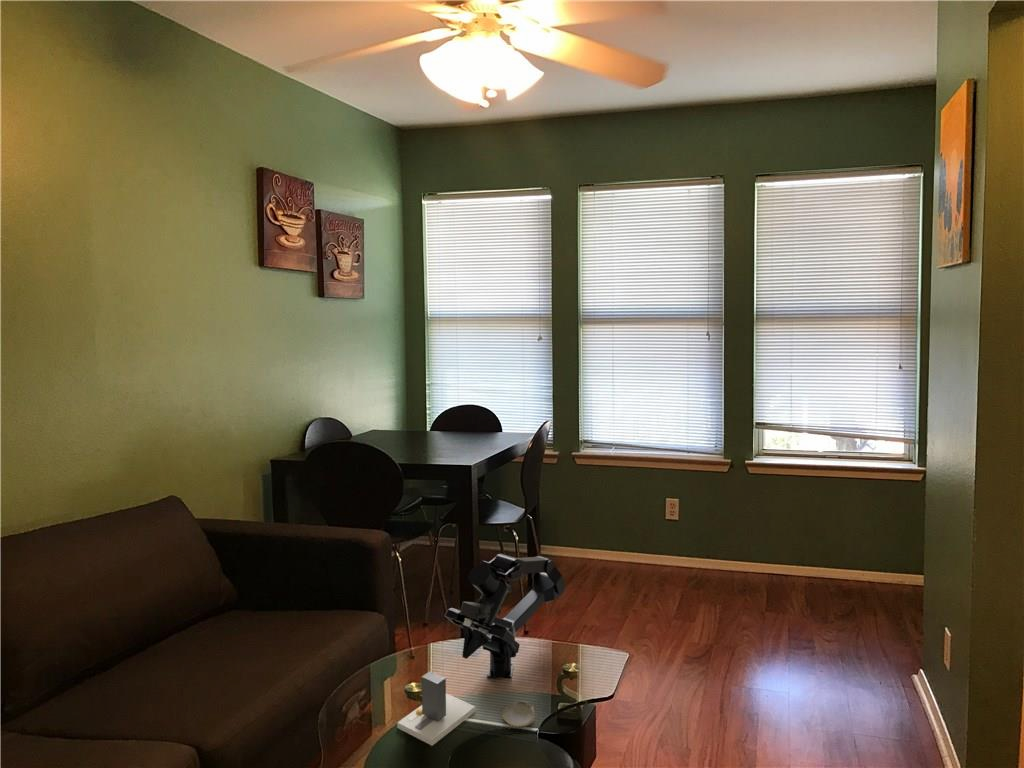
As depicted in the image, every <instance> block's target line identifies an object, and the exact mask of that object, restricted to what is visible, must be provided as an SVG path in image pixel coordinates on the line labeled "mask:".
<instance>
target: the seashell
mask: <svg viewBox="0 0 1024 768" xmlns="http://www.w3.org/2000/svg"><path fill="white" fill-rule="evenodd" d="M501 713H502V714H501V715H502V718H503V721H504V723H507V724H508V725H509V726H511V727H515V728H523V727H528V726H529V725H531V724H532V723H534V721H535V718H536V716H535V706H534V705H533V704H531V703H527V702H524V701H522V700H519V701H518V702H517V703H514V704H511V705H508V706H506V707H505V708H504V709H503V710H502V712H501Z"/></svg>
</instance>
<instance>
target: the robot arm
mask: <svg viewBox="0 0 1024 768" xmlns="http://www.w3.org/2000/svg"><path fill="white" fill-rule="evenodd" d="M529 574H532V575H531V578H532V579H531V580H532V588H531V590H530V591H529V592H528V593H527V594H526V595H525V596H524V597H523V598H522V599H521V600H520V601H519V602H518V603H517V604H516V606H514V607H513V608H512V609H511V610H510V611H509V612H508V613H507V614H506V615H505V616H504V617H503V618H501V617H499V616H498V615H501V613H502V610H501V606H502V605H503V603H504V600H505V597H506V595H507V594H508V593H511V594H512V591H513V589H512V586H511V581H516V580H519V579H522V576H523V575H529ZM468 580H469V583H470V584H471V585H472V586H473V587H474V588H475V589H477V591H479V592H480V593H481V595H480V597H476V598H475V600H474V602H472V601H462V604H461V608H460V610H459V609H456V608H453V607H450V608H448V609H447V610H446V612H445V614H444V617H445V618H446V619H447V620H449V621H450V622H451V623H453V624H454V625H456V626H458V627H461V628H462V630H463V633H464V636H463V638H464V639H463V640H464V641H463V649H462V658H464V659H466V660H467V659H469V657H471V656H472V655H473V654H474V653H476V651H478V650H479V649H480V648H481V647H482V650H484V651H487V652H489V665H488V670H487V674H486V677H487V678H495V679H496V678H497V679H507V680H508V679H512V677H513V672H514V665H515V664H513V663H512V658H516V657H517V654H518V653H519V651H520V643H519V642H518V641H517V640H516V634H517V632H518V631H519V630H520V629H521V628H522V627H523V626H524V625H525V624H526V622H528V620H530V618H531V617H532V616H533V615H534V614H535V613H536V612H537V611H538V610H539V609H540V608H541V606H543V605H544V604H546V603H549V602H553V601H555V600H557V599H558V598H559V597H560V596H561V595H562V594H563V593H564V592H565V589H566V583H565V580H564V577H563V575H562V573H561V572H560V571H559V569H558V568H556V566H555V564H554V561H553V560H552V559H550V558H548V557H544V556H541V555H536V556H529V557H528V556H527V557H514V556H510V555H506V554H503V553H498V554H496V555H495V557H494V558H492V559H491V560H490V561H487V560H486V561H485V560H482V562H481V563H480V564H478V565H476V566H474V567H473V568H472V569H470V571H469V573H468Z"/></svg>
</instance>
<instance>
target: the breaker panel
mask: <svg viewBox="0 0 1024 768" xmlns="http://www.w3.org/2000/svg"><path fill="white" fill-rule="evenodd" d="M475 713H476V706H475V705H473V704H471V703H468V702H466V701H464V700H461V698H457V697H456V696H453V695H450V694H449V693H446V716H444V717H443V718H442V719H441V720H439V721H436V720H434V719H432V718H430V717H428V716H426V715H424V714H422V704H421V705H420V706H419V707H417V708H416V709H414V710H413V711H411V712H410V713H408V714H407V715H406V716H404V717H403V718H401V719H399V721H398V722H397V729H399V730H400V731H403V732H404V733H407V734H408V735H411V736H412V737H413V738H414V737H415V738H416V739H418V740H420V741H422V742H424V743H426V744H428V745H430V746H431V747H432V746H434V745H435V744H436V743H438V742H439V741H441V740H442V739H443V738H445V737H446V736H447V735H448V734H449V733H450V732H452V731H453V730H454V729H455V728H457V727H458V726H459V725H461V724H462V723H463V722H465V721H466V720H467V719H468V718H469V717H471V716H472V715H473V714H475Z"/></svg>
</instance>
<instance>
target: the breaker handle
mask: <svg viewBox="0 0 1024 768" xmlns="http://www.w3.org/2000/svg"><path fill="white" fill-rule="evenodd" d="M446 680H447V678H446V677H444V676H442V675H440V674H438V673H435V672H433V671H430V670H429V671H428V672H426V673H425V674H423V675H422V676H421V705H422V714H424V715H426V716H428V717H430V718H432V719H434V720H436V721H439V720H441V719H442V718H443V717H444V716H446V694H447V683H446V682H447V681H446Z"/></svg>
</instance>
